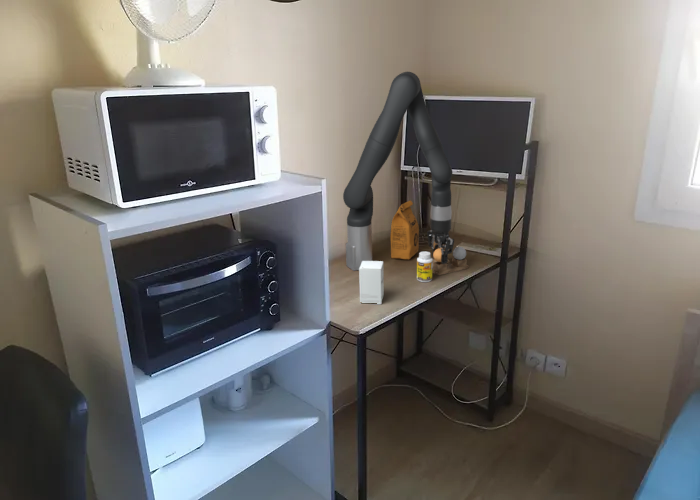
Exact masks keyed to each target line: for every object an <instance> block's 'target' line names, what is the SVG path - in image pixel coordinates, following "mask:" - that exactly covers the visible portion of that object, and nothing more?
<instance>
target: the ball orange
mask: <svg viewBox="0 0 700 500" xmlns="http://www.w3.org/2000/svg"><path fill="white" fill-rule="evenodd" d="M444 251H445V249H444ZM441 254H442V253H441V249H440V248H438V249H436V250H435V251H434V253H433V256H432V258H433V257H434V259H435V260H436V261H438V262H441Z"/></svg>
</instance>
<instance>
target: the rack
mask: <svg viewBox="0 0 700 500" xmlns="http://www.w3.org/2000/svg"><path fill="white" fill-rule="evenodd" d="M467 261H468V260H467V259H466V257H465V258H464V259H462V260H457V259H455V258H454V257H452V259H451V263H446V264H442V263H441V262H438V261H437V262H433V267H432V274H434V275H436V276H440V275H445V274H449V273H454V272H458V271H461V270H466V269H467V270H468V269H469V265H468V264H467Z"/></svg>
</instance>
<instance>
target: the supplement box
mask: <svg viewBox="0 0 700 500" xmlns="http://www.w3.org/2000/svg"><path fill="white" fill-rule="evenodd" d="M358 274H359V275H358V281H359V303H360V302H362V303H377V304H376V305H382V303H383V298H384V296H385V295H384V293H385V292H384V283H385V282H384V279H385V278H384V276H385V275H384V261H383V260H382V261H381V260H380V261H379V260H372V261H362V263H361V265H360V268H359V270H358Z"/></svg>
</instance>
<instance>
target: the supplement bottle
mask: <svg viewBox="0 0 700 500" xmlns="http://www.w3.org/2000/svg"><path fill="white" fill-rule="evenodd" d="M431 255H432V253H431V252H430V251H420V252H419V253H418V257H417V258H416V280H417V281H419V282H421V283H429V282H431V281H432V280H433V272H432V267H433V259H432V258H433V257H431Z"/></svg>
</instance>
